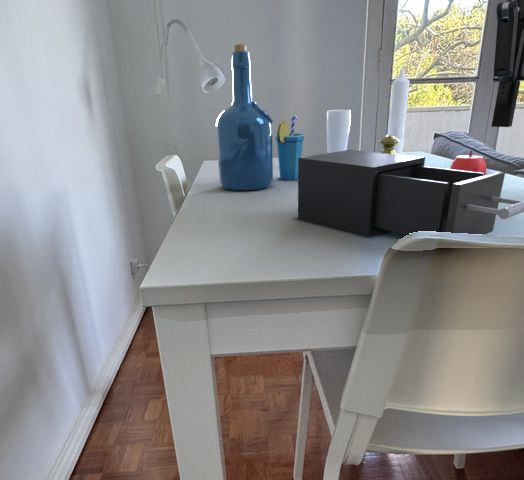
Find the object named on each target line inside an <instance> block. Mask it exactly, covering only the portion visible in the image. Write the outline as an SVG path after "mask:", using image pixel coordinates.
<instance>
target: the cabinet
mask: <svg viewBox="0 0 524 480" xmlns="http://www.w3.org/2000/svg"><path fill="white" fill-rule="evenodd" d="M425 162H426V156H417V155H408V154H407V155H406V154H402V155H398V154H388V153H381V152H376V151H366V150H356V149H347V150H345V151H339V152H332V153H327V152H326V153H321V154H314V155H308V156H301V158H298V179H297V219H298V220H301V221H305V222H308V223H313V224H317V225H321V226H325V227H328V228H334V229H337V230H341V231H345V232H349V233H352V234H356V235H360V236H366V237H371V236H374V235H377V234H381V233H384V232H387V231H388V230H385V229H381V228H376V227H372V226H373V214H374V202H375V191H376V179H377V173H378V172H383V171H388V170H392V169H397V168H402V167H407V166H411V165H418V166H425Z"/></svg>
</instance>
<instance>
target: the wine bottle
mask: <svg viewBox="0 0 524 480" xmlns="http://www.w3.org/2000/svg"><path fill="white" fill-rule="evenodd" d="M233 48H234V51H232V53H231V68H230V69H231V70H232V102H231V105H230V106H229V107H227V108H226V109H224V110H223V111H222V112H221V113H220V114H219V115H218V117H217V118H216V122H215V132H216V147H217V163H218V172H219V173H218V175H219V184H220V185H221V187H222V188H223V189H224V190H230V191H235V192H248V191H249V192H250V191H259V190H262V189H266V188H269V187H270V186H271V185H272V184H273V182H274V167H273V165H274V161H273V159H274V158H273V123H274V122H275V121H274V119H273V118H272V117H271V115H270V114H268V113H267V112H266V111H265V109H263V108H261V106H260V105H258V103H257V102H256V101H255V100H253V90H252V87H253V86H252V75H251V69H252V63H251V57H250V51H247V48H248V47H247V44H246V43H236V44H235V45H234V47H233Z"/></svg>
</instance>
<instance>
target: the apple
mask: <svg viewBox="0 0 524 480" xmlns="http://www.w3.org/2000/svg"><path fill="white" fill-rule="evenodd" d="M449 169H453V170H462V171H471V172H480V173H487V162H486V159H485V158H484V157H483V156H482V155H476V154H473V150H472V149H471V150H470V151H469V154H463V155H457V156H456V157H455V158H454V160H453V161H451V165H450V168H449Z"/></svg>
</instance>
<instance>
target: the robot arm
mask: <svg viewBox="0 0 524 480" xmlns="http://www.w3.org/2000/svg"><path fill="white" fill-rule="evenodd" d="M496 20H497V24H496V38H495V50H494V64H493V77H492V81H493V83H498V88H497V93H496V98H495V104H494V110H493V116H492V122H491V128H510V127H512V125H513V121H514V116H515V111H516V107H517V101H518V96H519V92H520V87H521V82H524V0H505V1H502V2H498V3H497V5H496Z"/></svg>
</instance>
